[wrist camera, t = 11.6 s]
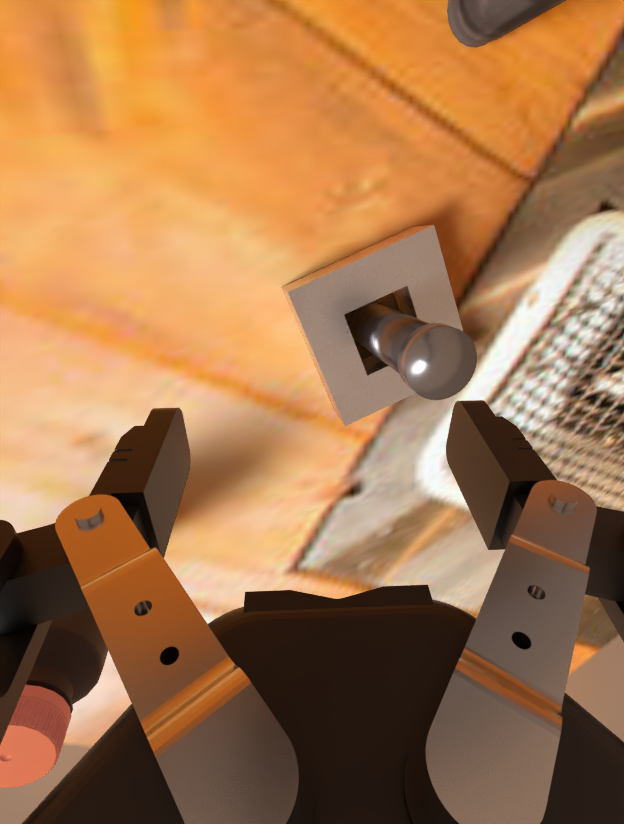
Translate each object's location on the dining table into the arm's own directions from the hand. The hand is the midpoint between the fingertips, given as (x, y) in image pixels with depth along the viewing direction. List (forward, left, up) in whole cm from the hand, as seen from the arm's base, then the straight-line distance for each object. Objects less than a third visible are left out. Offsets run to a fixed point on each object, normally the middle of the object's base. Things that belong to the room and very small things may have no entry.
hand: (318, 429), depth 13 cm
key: (+5, +8, -26) cm, 27 cm away
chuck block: (+5, +9, -26) cm, 27 cm away
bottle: (+12, -21, -26) cm, 36 cm away
